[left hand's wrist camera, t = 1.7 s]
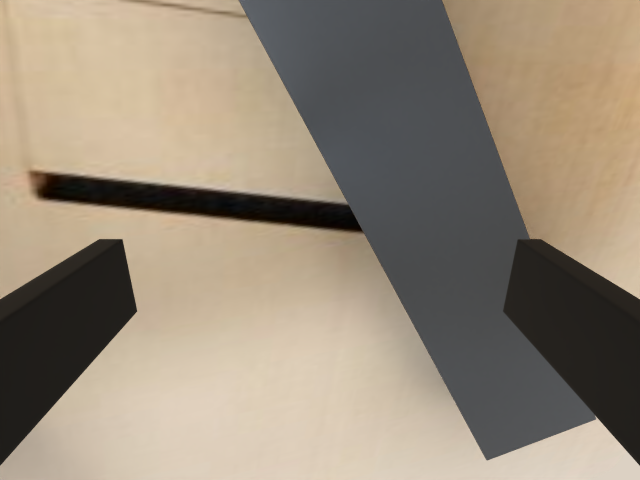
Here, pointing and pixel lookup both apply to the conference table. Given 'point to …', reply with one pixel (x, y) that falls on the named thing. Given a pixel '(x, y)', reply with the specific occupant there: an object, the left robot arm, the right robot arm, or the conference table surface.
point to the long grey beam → (423, 195)
